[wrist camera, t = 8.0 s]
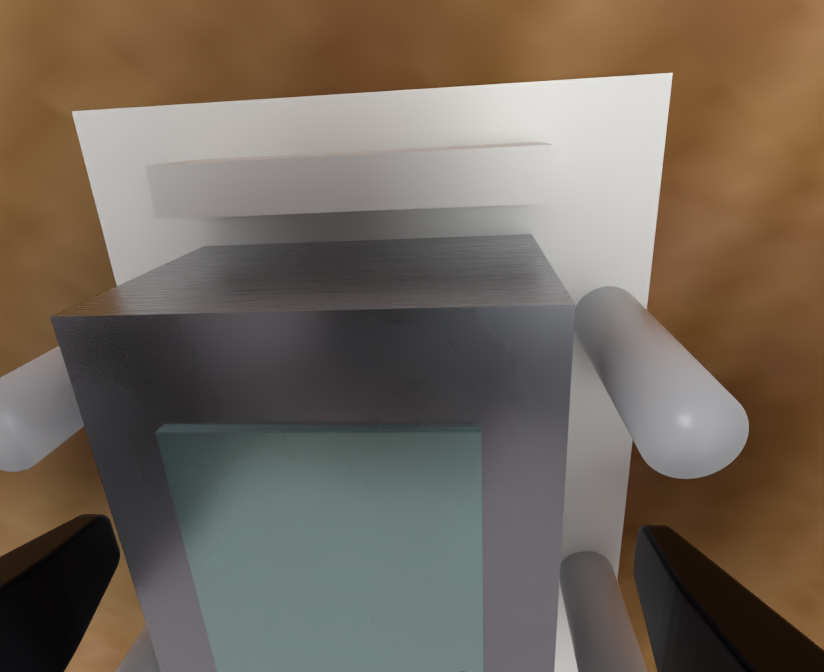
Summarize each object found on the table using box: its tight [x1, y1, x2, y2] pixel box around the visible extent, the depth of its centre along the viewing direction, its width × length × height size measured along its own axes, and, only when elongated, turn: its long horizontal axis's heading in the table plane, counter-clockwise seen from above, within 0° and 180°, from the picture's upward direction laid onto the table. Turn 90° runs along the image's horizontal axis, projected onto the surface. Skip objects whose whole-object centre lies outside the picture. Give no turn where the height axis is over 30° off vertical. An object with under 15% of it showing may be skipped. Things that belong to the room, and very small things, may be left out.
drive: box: [50, 234, 575, 672], centre depth 9 cm, size 6×9×4 cm, turn 3°
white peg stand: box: [0, 73, 749, 672], centre depth 10 cm, size 10×14×5 cm
